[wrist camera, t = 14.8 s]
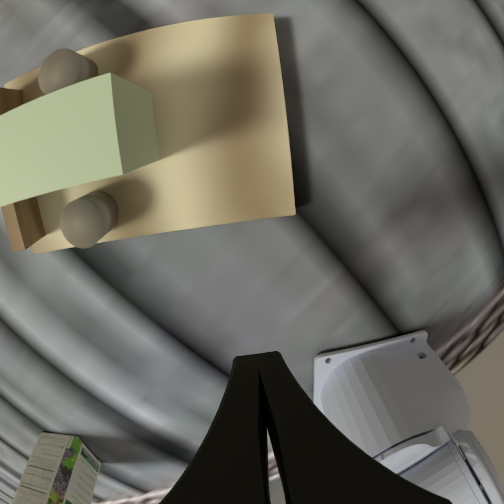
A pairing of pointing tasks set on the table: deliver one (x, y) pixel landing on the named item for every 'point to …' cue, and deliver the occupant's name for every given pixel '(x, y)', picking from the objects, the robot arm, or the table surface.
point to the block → (76, 137)
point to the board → (172, 135)
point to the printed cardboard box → (58, 472)
